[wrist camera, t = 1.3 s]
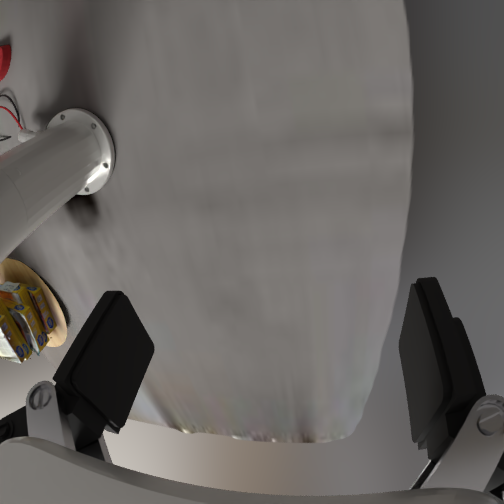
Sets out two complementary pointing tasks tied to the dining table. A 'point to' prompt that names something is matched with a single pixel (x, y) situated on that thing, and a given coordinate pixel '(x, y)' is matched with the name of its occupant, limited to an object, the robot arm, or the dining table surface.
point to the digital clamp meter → (0, 66)
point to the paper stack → (27, 313)
